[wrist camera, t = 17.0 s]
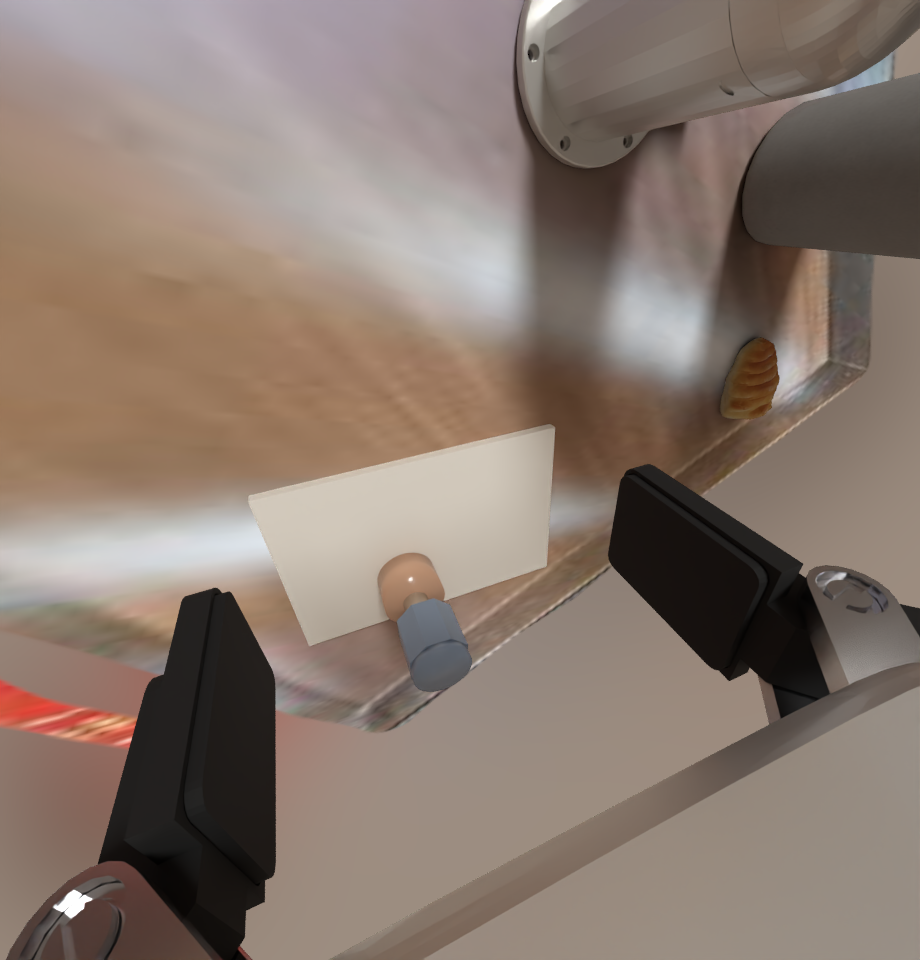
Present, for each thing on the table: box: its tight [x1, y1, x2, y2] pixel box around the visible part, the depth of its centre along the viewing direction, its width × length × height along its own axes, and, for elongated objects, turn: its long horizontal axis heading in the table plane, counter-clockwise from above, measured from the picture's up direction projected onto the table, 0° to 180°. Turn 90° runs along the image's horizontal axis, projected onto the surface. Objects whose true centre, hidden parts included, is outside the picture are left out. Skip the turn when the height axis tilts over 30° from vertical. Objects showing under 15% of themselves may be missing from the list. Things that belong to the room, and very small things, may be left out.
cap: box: [397, 598, 472, 692], centre depth 40 cm, size 6×6×6 cm
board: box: [248, 424, 555, 646], centre depth 46 cm, size 30×20×1 cm, turn 94°
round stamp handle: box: [377, 553, 445, 623], centre depth 43 cm, size 6×6×11 cm
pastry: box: [720, 337, 779, 419], centre depth 50 cm, size 9×7×4 cm
